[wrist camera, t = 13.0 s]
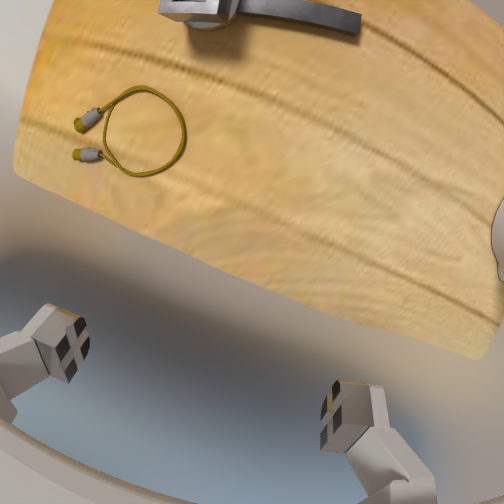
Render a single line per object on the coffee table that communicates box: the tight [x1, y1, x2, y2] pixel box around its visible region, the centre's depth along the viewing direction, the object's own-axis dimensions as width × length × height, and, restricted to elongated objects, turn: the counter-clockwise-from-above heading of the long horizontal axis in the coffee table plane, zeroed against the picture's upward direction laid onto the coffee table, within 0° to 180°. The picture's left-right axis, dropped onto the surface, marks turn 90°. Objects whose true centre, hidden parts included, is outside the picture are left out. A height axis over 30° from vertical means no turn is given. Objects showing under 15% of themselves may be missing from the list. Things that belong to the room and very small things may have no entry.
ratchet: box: [184, 0, 362, 36], centre depth 25 cm, size 20×7×6 cm, turn 81°
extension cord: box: [73, 86, 186, 176], centre depth 35 cm, size 12×16×2 cm
